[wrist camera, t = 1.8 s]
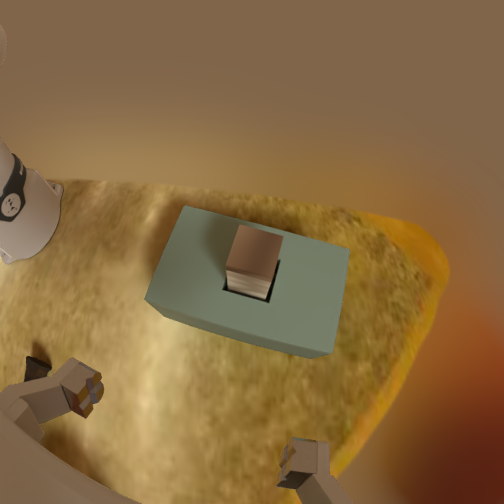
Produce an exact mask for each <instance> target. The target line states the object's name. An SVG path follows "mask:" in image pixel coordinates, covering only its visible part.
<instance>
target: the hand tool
mask: <svg viewBox="0 0 504 504" xmlns="http://www.w3.org/2000/svg"><path fill="white" fill-rule="evenodd" d="M26 364H27V365H26V373H25V379H24V382H27V381H31V380H35V379H40V378H44V377H46V376H47V373H48V372H49V371H50V370H51V369H52V367H50V366H49V365H47V364H46V363H45V362H43V361H41V360H39V359H37V358H35V357H30V356H27V357H26Z"/></svg>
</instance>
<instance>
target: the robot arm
mask: <svg viewBox="0 0 504 504" xmlns="http://www.w3.org/2000/svg"><path fill="white" fill-rule="evenodd" d="M6 50H7V38H6V34H5V31H4V29H3V28H2V26H1V25H0V68H1V67H2V65H3V62H4V59H5V55H6ZM62 193H63V187H62V186H61V185H60V184H57V183H54V182H51V181H48V180H45V179H44V178H43V176H42V175H41V174H40V173H39V172H38V171H37V170H33V169H26V168H25V167H24V165H23V164H22V162H21V160H20V159H19V158H18V157H17V156H16V155H15V154H13V153H11V152H10V151H9V149H8V148H7V146H6V145H5V144H4V142H3V141H2V139H1V138H0V254H1V257H2V260H3V262H4V263H5V264H10V263H12V262H13V261H15V260H18V259H27V258H30V257H32V256H34V255H35V254H37V253H38V252H39V251H40V250H41V249H42V248H43V247H44V246H45V245H46V244H47V242H48V241H49V240H50V238H51V237H52V235H53V233H54V231H55V229H56V227H57V224H58V221H59V217H60V199H61V196H62ZM101 379H102V376H101V373H100V372H98V371H96V370H94V369H92V368H90V367H89V366H87V365H85V364H83V363H82V362H80V361H78V360H77V359H75V358H70V359H69V360H68V361H67V362H66V363H65V364H64V365H63V366H62V367H61V368H60V369H59V370H58V371H57V372H56V373H55V374H54V375H53V376H52V377H51V378H50V377H44V378H40V379H35V380H31V381H27V382H23V383H18V384H14V385H9V386H7V387H6V388H5V389H4V390H3V391H2V392H1V393H0V504H141V503H139V502H136V501H134V500H132V499H130V498H128V497H126V496H123V495H121V494H119V493H117V492H115V491H113V490H111V489H109V488H107V487H106V486H104V485H102V484H100V483H98V482H96V481H95V480H93V479H91V478H89V477H88V476H86V475H84V474H83V473H81V472H79V471H78V470H76V469H75V468H73V467H71V466H70V465H68V464H67V463H65V462H64V461H62V460H61V459H60V458H58V457H57V456H55V455H54V454H52V453H51V452H50V451H48V450H47V449H46V448H44V447H43V446H42V445H40V444H39V442H40V440H41V439H42V438H43V436H44V435H45V434H44V431H43V429H42V428H41V426H40V424H41V423H43V422H46V421H48V420H51V419H53V418H56V417H58V416H61V415H63V414H66V413H68V412H70V411H71V410H72V411H73V412H75V413H77V414H78V415H80V416H82V417H84V418H85V419H86V418H87V417H88V416H89V414H90V413H91V412H92V410H93V404H96V403H98V402H99V401H100V400H101V398H102V396H103V393H104V386H103V384H102V382H101V381H100V380H101ZM279 466H280V467H281V470H280V471H279V473H278V475H277V483H276V486H277V487H283V488H289V489H296V492H297V494H298V496H299V498H300V500H301V502H302V504H354V503H353V502H352V501H351V499H350V498H349V497H348V495H347V494H346V493H345V491H344V490H343V489H342V487H341V486H340V485H339V483H338V482H337V480H336V479H335V478H334V476H333V475H330V460H329V443H328V442H324V441H316V440H310V439H302V438H295V437H292V438H290V440H289V442H288V445H287V446H285V447H284V449H283V451H282V453H281V456H280V461H279Z"/></svg>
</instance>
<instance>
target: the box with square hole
mask: <svg viewBox="0 0 504 504" xmlns="http://www.w3.org/2000/svg"><path fill="white" fill-rule="evenodd" d="M239 225H244V226H248V227H252V228H256V229H259V230H263V231H267V232H270V233H274V234H278V235H281V236H284V237H283V241H282V245H281V249H280V253H279V256H278V260H277V264H276V268H275V272H274V275H273V279H272V282H271V285H270V287H269V290H268V293H267V296H266V299H265V301H264V302H263V301H259V300H256V299H252V298H249V297H245V296H241V295H238V294H234V293H231V292H228V282H227V272H226V263H227V260H228V257H229V254H230V251H231V248H232V245H233V242H234V239H235V236H236V233H237V230H238V228H239ZM349 253H350V249H346V248H343V247H340V246H336V245H333V244H329V243H326V242H322V241H319V240H315V239H312V238H308V237H304V236H301V235H297V234H294V233H290V232H286V231H283V230H279V229H275V228H272V227H268V226H264V225H260V224H257V223H253V222H249V221H245V220H241V219H238V218H234V217H230V216H226V215H222V214H218V213H214V212H210V211H206V210H202V209H198V208H194V207H190V206H186V205H184V207H183V209H182V211H181V213H180V215H179V218H178V220H177V222H176V224H175V226H174V229H173V231H172V233H171V235H170V237H169V240H168V242H167V244H166V247H165V249H164V251H163V254H162V256H161V258H160V261H159V263H158V266H157V268H156V270H155V273H154V275H153V278H152V280H151V283H150V285H149V288H148V290H147V293H146V296H145V298H144V300H145V301H147V302H148V303H149V304H150V305H151V306H152V307H154V308H155V309H156V310H157V311H158V312H160V313H161V314H162V315H163V316H164V317H167V318H169V319H172V320H175V321H178V322H181V323H184V324H187V325H190V326H193V327H196V328H199V329H202V330H205V331H209V332H212V333H215V334H218V335H222V336H225V337H228V338H232V339H235V340H239V341H242V342H246V343H249V344H253V345H256V346H260V347H264V348H268V349H272V350H276V351H280V352H284V353H288V354H292V355H296V356H300V357H305V358H309V359H312V358H316V357H320V356H324V355H328V354H332V352H333V347H334V343H335V338H336V333H337V328H338V323H339V317H340V312H341V306H342V301H343V295H344V288H345V282H346V275H347V268H348V261H349Z"/></svg>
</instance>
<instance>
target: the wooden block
mask: <svg viewBox="0 0 504 504" xmlns="http://www.w3.org/2000/svg"><path fill="white" fill-rule="evenodd" d="M283 237H284V236H281V235H278V234H274V233H270V232H267V231H263V230H259V229H256V228H252V227H248V226H244V225H239V228H238V230H237V233H236V236H235V239H234V242H233V245H232V248H231V251H230V254H229V257H228V260H227V263H226V272H227V282H228V292H231V293H234V294H238V295H241V296H245V297H249V298H252V299H256V300H259V301H263V302H264V301H265V299H266V296H267V293H268V290H269V287H270V285H271V282H272V279H273V275H274V272H275V268H276V264H277V260H278V256H279V253H280V249H281V245H282V241H283Z"/></svg>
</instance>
